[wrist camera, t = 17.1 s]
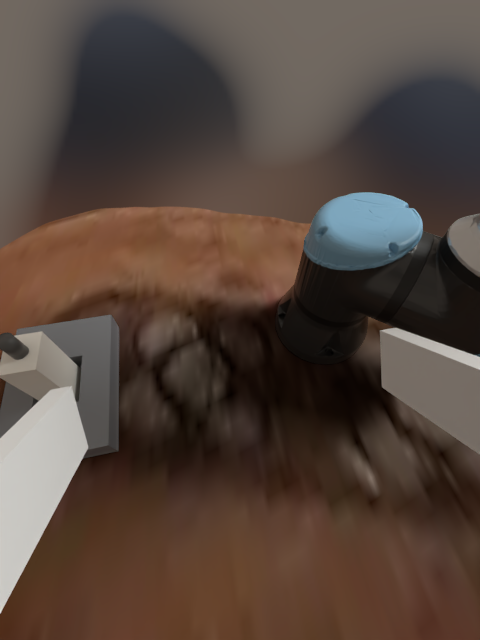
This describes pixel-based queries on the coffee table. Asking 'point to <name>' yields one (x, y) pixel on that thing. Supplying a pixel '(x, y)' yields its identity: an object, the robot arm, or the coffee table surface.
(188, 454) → the coffee table surface
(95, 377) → the socket panel
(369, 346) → the coffee table surface
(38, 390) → the plug
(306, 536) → the coffee table surface
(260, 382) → the coffee table surface
